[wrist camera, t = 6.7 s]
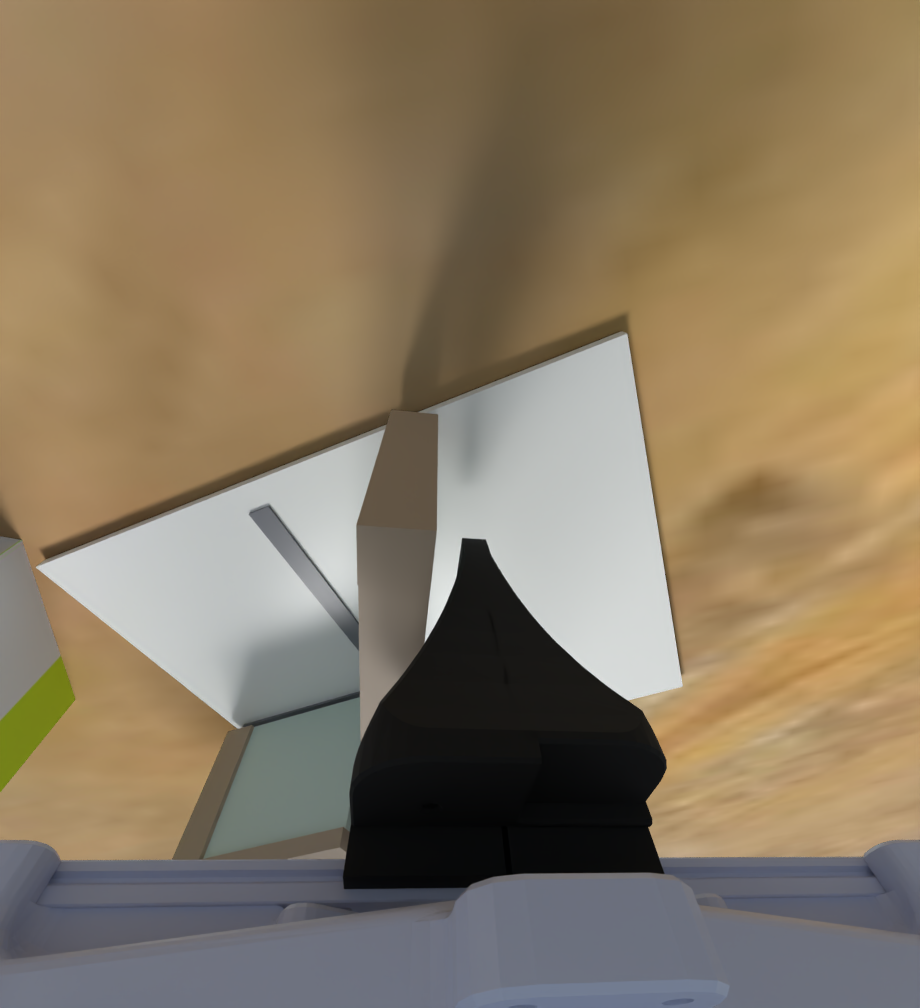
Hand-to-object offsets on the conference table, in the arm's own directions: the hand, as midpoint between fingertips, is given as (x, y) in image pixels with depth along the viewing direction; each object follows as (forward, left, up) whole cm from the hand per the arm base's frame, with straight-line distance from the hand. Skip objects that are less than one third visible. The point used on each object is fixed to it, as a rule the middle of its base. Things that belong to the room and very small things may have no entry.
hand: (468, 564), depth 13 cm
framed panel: (-1, +3, -2) cm, 4 cm away
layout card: (-5, +4, -3) cm, 7 cm away
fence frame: (-8, +10, -3) cm, 13 cm away
